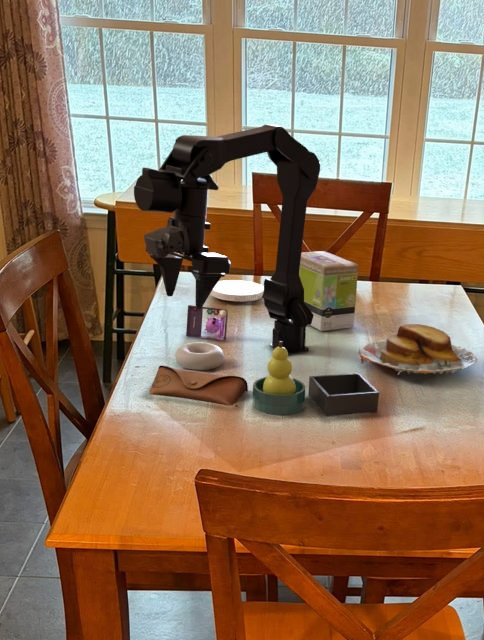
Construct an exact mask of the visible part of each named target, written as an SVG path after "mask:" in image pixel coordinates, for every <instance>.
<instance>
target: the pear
mask: <svg viewBox="0 0 484 640" xmlns="http://www.w3.org/2000/svg"><path fill="white" fill-rule="evenodd" d="M271 354H272V356H271V358H270V359H269V361H268V363H267V372H268V373H269V375H268V376H266V377H267V378H266V379H265V381H264V384H263V392H265V393H269V394H275V395H289V394H294V393H295V391H296V386H295V382H294V380H293V379H292V378H293V377H292V376H291V374H292V370H293V364H292V361H291V360H290V358H288V357H289V354H288V352H287V350H286V349H285V348H284V347H282V341H279V347H276V348H275V349H274V348H273V350H272V353H271Z"/></svg>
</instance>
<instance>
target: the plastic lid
mask: <svg viewBox="0 0 484 640" xmlns="http://www.w3.org/2000/svg"><path fill="white" fill-rule="evenodd" d="M263 292H264V285H262V284H260V283H258V282H254V281H249V280H242V279H241V280H240V279H226V280H219V281H218V282H217V284H216V285H215V287H214V288H213V290H212V291H211V293H210V296H212V297H213V298H215V299H219V300H223V301H230V302H252V301H257V300H260V299H263V298H262V295H263Z"/></svg>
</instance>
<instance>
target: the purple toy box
mask: <svg viewBox="0 0 484 640" xmlns="http://www.w3.org/2000/svg"><path fill="white" fill-rule="evenodd" d="M204 310H206V313H207V315H210V316H211V317H207V321H206V322H205V328H204V331H206V333H208V334H216V333H217V332H218V331H219V333H218V335H217V337H209V336H202V328H203V312H204ZM186 314H187V315H186V330H185V331H186V332H185V336H186V337H188V338H194V339H195V338H196V339H204V340H214V341H221V342H226V340H227V332H228V330H227V329H228V317H229V310H228V309H226V308H217V307H208V306H203V307H202V308H199V309H198V308H196V305H191V304H188V305H187V313H186ZM212 315H214V316H212ZM216 316H217V317H216ZM218 316H219V317H218ZM222 337H223V338H222Z"/></svg>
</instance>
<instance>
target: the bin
mask: <svg viewBox="0 0 484 640" xmlns="http://www.w3.org/2000/svg"><path fill="white" fill-rule="evenodd" d="M307 394H308V397H309V398H310V399H311V400H312V402H313V403H314V404H315V406H317V407H318V409H319V410H320V411H321V413H322V414H323V415H325V417H334V416H335V417H337V416H346V415H347V416H348V415H358V414H371V413H378V410H379V409H378V407H379V397H380V392H379V391H378V389H376V388H375V387H374V386H373V385H372V384H371V383H370V382H369V381H368V380H367V378H365V377H364V376H363V375H362V374H361V373H359V372H350V373H338V374H337V373H335V374H323V375H309V376H308V393H307Z"/></svg>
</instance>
